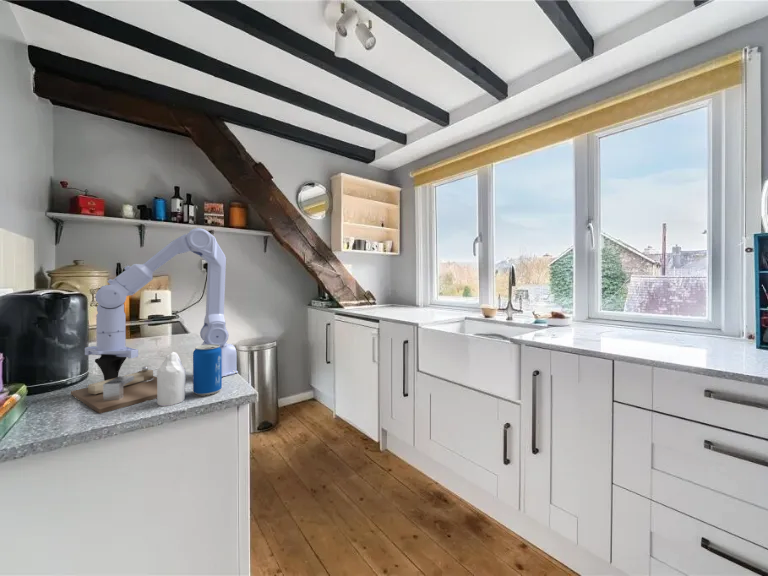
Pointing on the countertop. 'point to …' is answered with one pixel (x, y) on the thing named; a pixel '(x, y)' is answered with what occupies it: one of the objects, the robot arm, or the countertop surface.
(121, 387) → the keeper
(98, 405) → the wooden cutting board
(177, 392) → the white bottle
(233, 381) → the countertop surface
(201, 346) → the beverage can
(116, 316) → the robot arm
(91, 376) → the countertop surface
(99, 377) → the countertop surface
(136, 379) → the link
